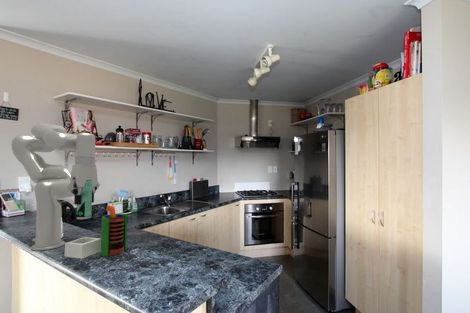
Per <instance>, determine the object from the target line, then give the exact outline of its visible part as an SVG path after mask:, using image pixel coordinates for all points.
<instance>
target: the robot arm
mask: <svg viewBox="0 0 470 313" xmlns="http://www.w3.org/2000/svg"><path fill="white" fill-rule="evenodd" d="M30 132H31V134H19V135H16V136H15V137H13V139H12V140H11V151H12V154H13V155H14V156H15V158H16V159H17V160H18V161H19V162H20V163H21V165H22V166H23V167H24V169H25V171H26V173H27V175H28V176H29V178H30V179H31V181H32V182H33V183H35V186H34V189H33V190H34V197H35V202H36V219H35V221H36V222H35V224H36V225H35V227H36V228H35V238H32V240H31V241H32V242H34V244H33V245H32V246H31V247H30V249H31V250H32V251H36V252H37V251H38V252H39V251H48V250H53V249H57V248H61V247H63V246H65V243H66V242H65V241H64V240H62V214H63V212H62V205H61V204H60V202H58V199H66V198H73V197H74V199H73V200H74V205H76V206H77V205H80V204H81V201H82V195H80V193H81V190H82V188H83V187H84V186H85V183H86V179H87V177H91V179H92V204H93V203H94V202H95V193H96V191H97V190H98V189H99V187H100V186H101V184H100V183H99V181H98V170H97V165H96V162H97V159H96V135H95V134H93V133H89V132H79V133H76V134H75V133H68V131H67V129H66V128H65V127H64V126H62V125H59V124H52V123H44V122H43V123H42V122H40V123H39V122H37V123H36V124H34V125H32V127H31V129H30ZM55 150H56V151H57V150H58V151H72V152H74V164H72V167H71V170H70V169H68V167H67V166H64V165H62V164H51V163H50V164H49V163H47V162H46V161H45V159H44V158H43V157H42V156H41V155H40V154H38V153H51V152H54V151H55ZM77 190H78V191H77Z"/></svg>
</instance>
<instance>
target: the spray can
mask: <svg viewBox="0 0 470 313" xmlns="http://www.w3.org/2000/svg"><path fill="white" fill-rule="evenodd" d="M77 191H78V190H77ZM80 195H82V201H81V204H80V205H77V204H76V220H86V219H91V218H92V213H93V212H92V211H93V210H92V209H93V207H92V206H93V205H92V204H93V203H92V179H91V177H87V179H86V183H85V186H84V187H83V188H82V190H81V193H80Z"/></svg>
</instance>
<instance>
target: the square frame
mask: <svg viewBox="0 0 470 313" xmlns="http://www.w3.org/2000/svg"><path fill="white" fill-rule="evenodd" d="M97 253H101V238H98V237H90V236H89V237H87V236H85V237H80V238H76V239H75V240H71V241H67V242H65V244H64V257H65V258H74V259H84V258H87V257H90V256H92V255H95V254H97Z"/></svg>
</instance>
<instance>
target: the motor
mask: <svg viewBox="0 0 470 313" xmlns="http://www.w3.org/2000/svg"><path fill="white" fill-rule="evenodd" d="M105 211H106V212H109V214H105V215H104V216H101V230H100V232H101V233H100V234H101V235H100V236H101V238H100V239H101V251H100V256H102V257H110V256H117V255H120V254H123V253H124V251H126V250H127V235H128V234H127V232H128V214H125V213H116V209H115V206H114V205H107V206H106V208H105Z"/></svg>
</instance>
